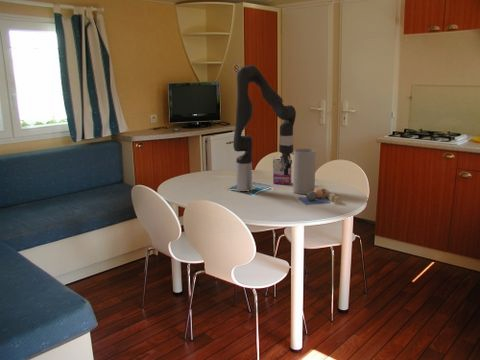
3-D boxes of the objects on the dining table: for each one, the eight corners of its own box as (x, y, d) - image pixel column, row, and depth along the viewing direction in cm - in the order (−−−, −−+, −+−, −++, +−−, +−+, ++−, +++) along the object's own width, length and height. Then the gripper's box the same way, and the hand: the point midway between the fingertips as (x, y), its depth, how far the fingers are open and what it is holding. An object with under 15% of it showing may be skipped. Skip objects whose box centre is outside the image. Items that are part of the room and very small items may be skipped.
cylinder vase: (317, 190, 274) (318, 149, 268) (309, 195, 263) (310, 153, 257) (298, 188, 280) (298, 148, 274) (289, 193, 270) (290, 151, 264)
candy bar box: (291, 182, 293) (291, 157, 289) (290, 184, 289) (290, 159, 285) (274, 182, 296) (274, 157, 292) (273, 184, 291) (273, 158, 287)
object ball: (314, 200, 260) (309, 192, 259) (322, 195, 261) (317, 186, 261) (318, 200, 254) (313, 192, 254) (326, 194, 255) (321, 186, 255)
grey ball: (309, 200, 257) (302, 195, 255) (315, 192, 256) (309, 187, 254) (313, 204, 252) (306, 199, 250) (320, 196, 251) (313, 191, 249)
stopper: (320, 194, 266) (321, 188, 265) (324, 194, 266) (324, 188, 265) (335, 204, 247) (335, 197, 246) (338, 203, 247) (338, 197, 246)
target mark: (297, 197, 260) (297, 197, 260) (320, 196, 263) (320, 195, 263) (306, 204, 246) (306, 204, 246) (330, 202, 249) (330, 202, 249)
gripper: (275, 141, 249) (275, 172, 254) (283, 146, 237) (283, 178, 241) (288, 141, 251) (288, 171, 255) (297, 145, 238) (296, 177, 243)
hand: (285, 175), depth 248 cm, fingers closed
